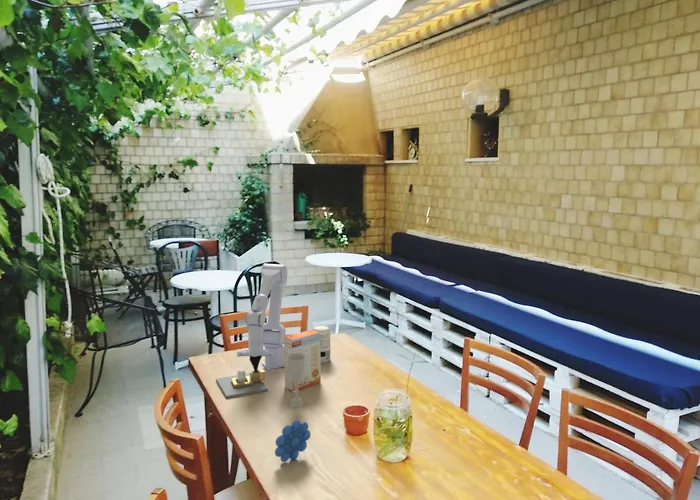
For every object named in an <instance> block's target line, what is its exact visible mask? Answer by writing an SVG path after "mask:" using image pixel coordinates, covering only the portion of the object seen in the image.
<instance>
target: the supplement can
mask: <svg viewBox="0 0 700 500" xmlns="http://www.w3.org/2000/svg"><path fill="white" fill-rule="evenodd" d="M312 330H314V331H317V332H320V363H321V364H326V363H328V362H329V361H330V360H331V329H330V327H329V326H327V325H316V326H314V327H313V328H312Z"/></svg>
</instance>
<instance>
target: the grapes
mask: <svg viewBox="0 0 700 500" xmlns="http://www.w3.org/2000/svg"><path fill="white" fill-rule="evenodd" d="M308 429H309V424H308V422H307V421H303V422H301V420H299V419H296V420H293V422H292V424H291V425H290V424H288V425H285V426H283V428H282V430H281V433H282V435H279V436H277V437H276V439H275V445H276V448H275V450H274V454H275V456H276V457H278V458H279V457H280V458H279V459H280V461H281V462H282V463H286V462H287V461H289V460H291V461H294V460H297V458H299V455H300V453H302V452H304V451H305V450H306V449H307V447H308V443H307V441H308V440H309V439H310V438H311V431H310V430H308Z"/></svg>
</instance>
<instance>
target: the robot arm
mask: <svg viewBox="0 0 700 500" xmlns="http://www.w3.org/2000/svg"><path fill="white" fill-rule="evenodd" d="M260 274H261V279H262V280H261V281H262V282H261V286H260V290H259V293H258V294H257V295H256V296H255V297H254V300H253V302H252V305H251V308H250V310H249V311H248V312H246V315H245V320H244V322H245V326H246V330H247V334H248V335H247V337H248V345H247V347H248V349H244V350H238V349H237V352H236V354H237V355H236V356H237V358H239V357H249V361H250V363H251V365H252V368H253V371H257V370H259V364H260V362H261V359H262V357H264V361H262V362H261V364H262V365H263V367H265V369H266V370H272V369H273V370H274V369H277V368H284V337H285V336H287V335H286V327H285V326H284V325H283V324H281V312H282V311H281V309H282V298H283V288H284V285H287V281H288V268H287V266H286V264H277V263H275V264H273V263H263V264H262V266H261V270H260ZM269 294H270V297H269ZM268 297H269V298H268ZM268 305H269V310H268V320H267V323H266V314H267V313H266V311H267V308H268ZM265 323H266V324H265Z"/></svg>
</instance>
